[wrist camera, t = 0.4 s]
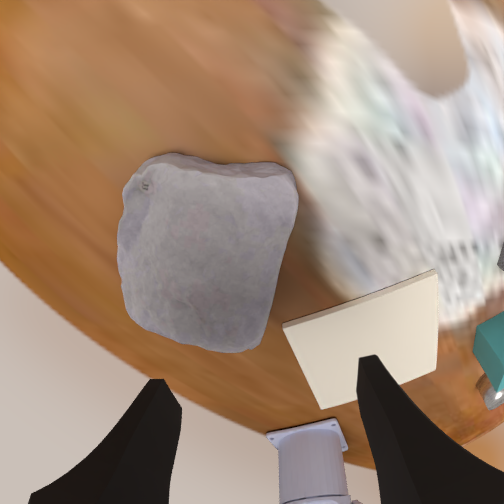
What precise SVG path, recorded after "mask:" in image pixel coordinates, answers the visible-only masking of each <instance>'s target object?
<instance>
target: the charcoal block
mask: <svg viewBox="0 0 504 504" xmlns="http://www.w3.org/2000/svg"><path fill="white" fill-rule="evenodd" d="M497 265H498V266H499V267H500V268H501V269H502V270H503V271H504V244H503V247H502V250H501V254H500V257H499V260H498V263H497Z"/></svg>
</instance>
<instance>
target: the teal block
mask: <svg viewBox="0 0 504 504" xmlns="http://www.w3.org/2000/svg"><path fill="white" fill-rule="evenodd" d="M473 353H474V355H475V356H476V358H477V360H478V361H479V363H480V365H481V366H482V368H483V370H484V371H485V373H486V375H487V377H488V379H489V380H490V382H491V384H492V386H493V388H494V389H495V391H496V393H497V392H499V391H500V390H502V389H504V311H503V312H502V313H500V314H498V315H496V316H495V317H493V318H491V319H489V320H487V321H485V322H484V323H482V324H480V325H478V326H477V329H476V335H475V341H474V347H473Z"/></svg>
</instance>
